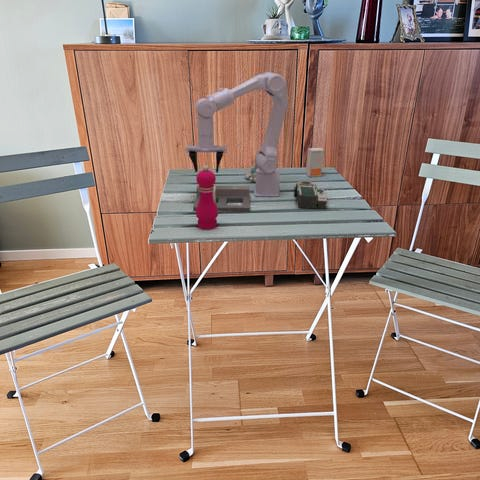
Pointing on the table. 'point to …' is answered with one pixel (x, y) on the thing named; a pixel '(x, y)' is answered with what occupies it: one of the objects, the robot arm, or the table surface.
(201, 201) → the pepper mill
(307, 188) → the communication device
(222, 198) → the socket panel
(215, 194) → the plug
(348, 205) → the table surface
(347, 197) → the table surface
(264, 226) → the table surface
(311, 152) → the skincare box
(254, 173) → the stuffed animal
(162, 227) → the table surface
